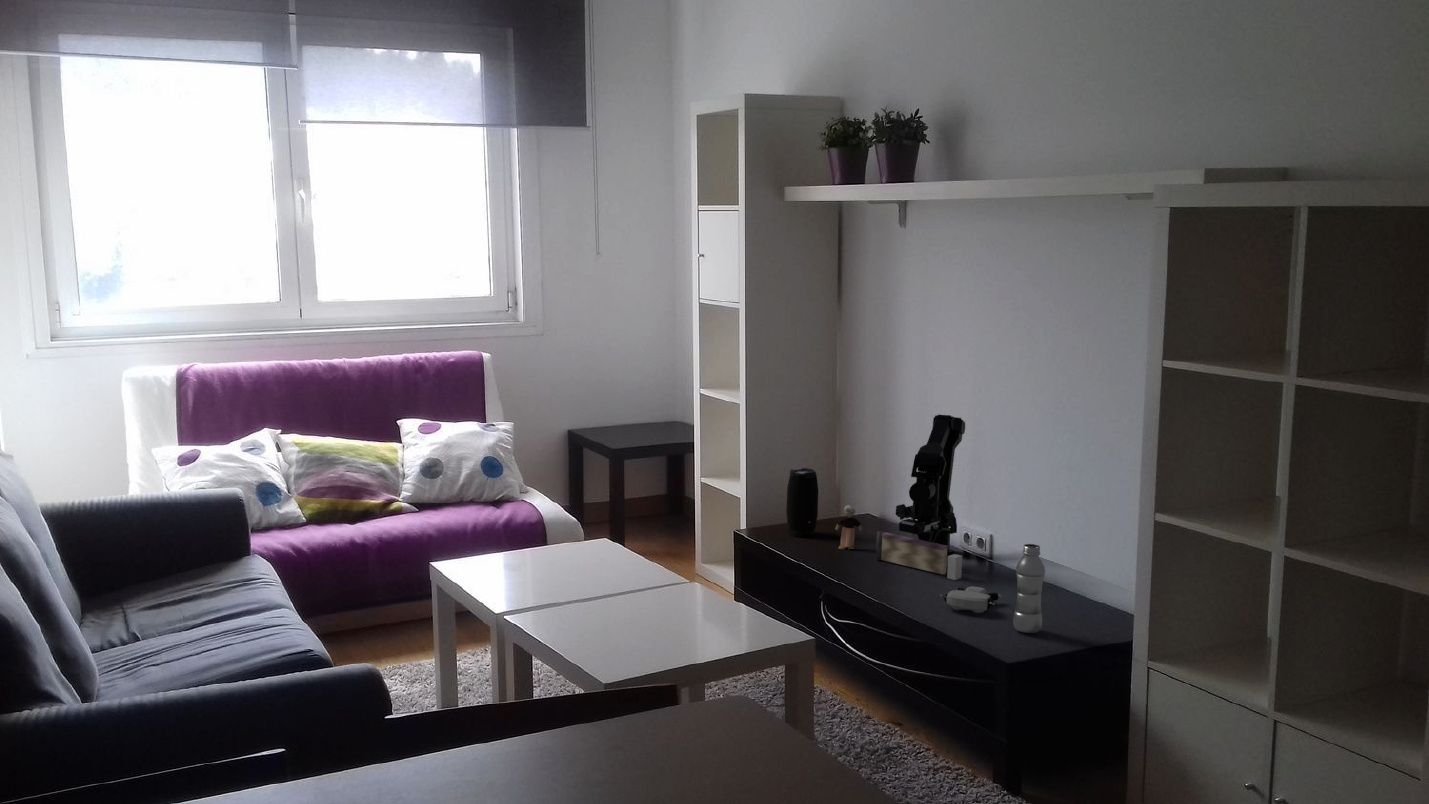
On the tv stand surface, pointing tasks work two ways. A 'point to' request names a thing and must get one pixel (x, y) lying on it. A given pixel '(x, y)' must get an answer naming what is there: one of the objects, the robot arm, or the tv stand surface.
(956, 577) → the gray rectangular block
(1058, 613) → the tv stand surface
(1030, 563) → the plastic bottle
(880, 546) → the beige flat panel
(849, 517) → the grandmother figurine
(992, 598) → the robot toy
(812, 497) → the portable speaker
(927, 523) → the robot arm
